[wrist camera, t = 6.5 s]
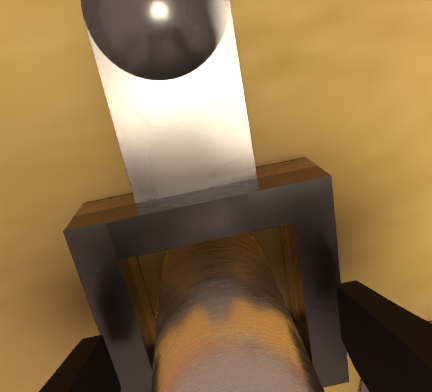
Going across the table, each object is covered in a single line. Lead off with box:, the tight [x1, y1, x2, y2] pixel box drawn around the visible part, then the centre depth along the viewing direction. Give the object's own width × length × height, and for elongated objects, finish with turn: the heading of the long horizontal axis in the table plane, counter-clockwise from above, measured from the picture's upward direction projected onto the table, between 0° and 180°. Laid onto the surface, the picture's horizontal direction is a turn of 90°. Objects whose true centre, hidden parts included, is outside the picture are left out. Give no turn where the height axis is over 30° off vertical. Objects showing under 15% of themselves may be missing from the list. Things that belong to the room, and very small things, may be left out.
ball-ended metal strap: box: [63, 0, 349, 392], centre depth 13 cm, size 23×8×2 cm, turn 11°
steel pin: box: [151, 233, 324, 392], centre depth 10 cm, size 4×4×9 cm
